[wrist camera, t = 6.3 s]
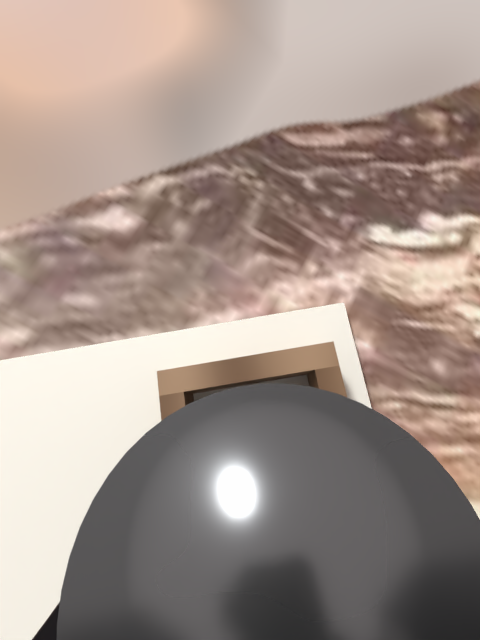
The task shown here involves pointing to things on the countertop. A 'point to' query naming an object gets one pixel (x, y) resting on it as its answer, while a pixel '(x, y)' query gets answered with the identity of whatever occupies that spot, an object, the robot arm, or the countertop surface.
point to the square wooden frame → (250, 374)
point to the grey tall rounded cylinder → (275, 529)
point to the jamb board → (108, 434)
